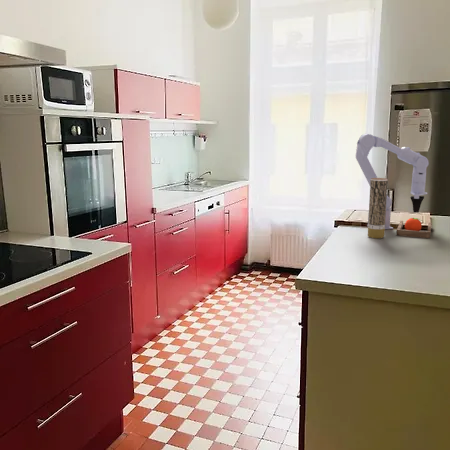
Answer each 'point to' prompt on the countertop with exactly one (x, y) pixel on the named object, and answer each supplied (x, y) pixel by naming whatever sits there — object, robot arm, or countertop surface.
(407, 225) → the clementine
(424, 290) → the countertop surface
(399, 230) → the holder
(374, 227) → the paper tube
